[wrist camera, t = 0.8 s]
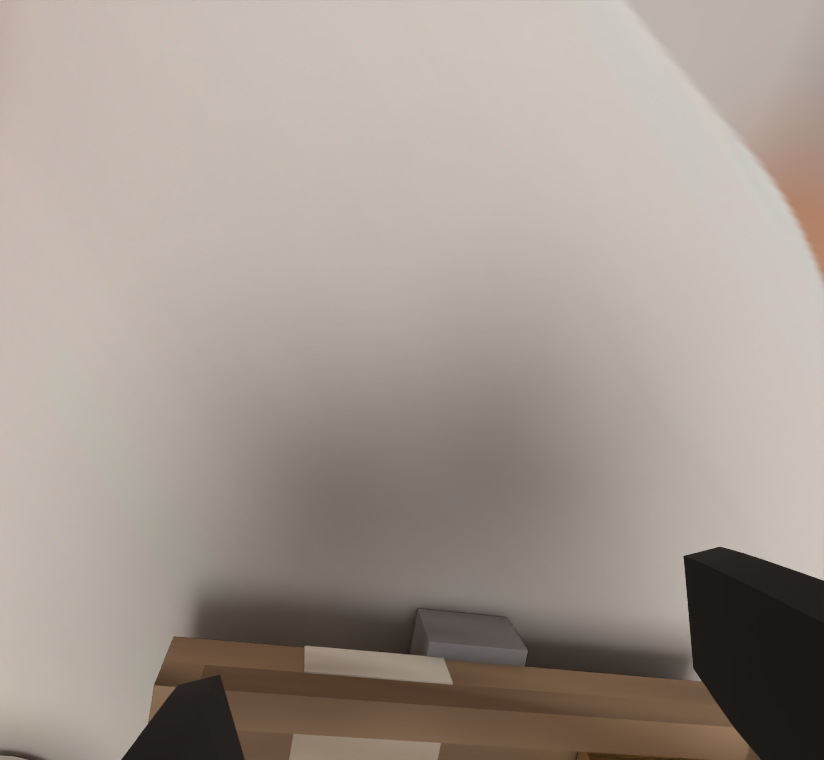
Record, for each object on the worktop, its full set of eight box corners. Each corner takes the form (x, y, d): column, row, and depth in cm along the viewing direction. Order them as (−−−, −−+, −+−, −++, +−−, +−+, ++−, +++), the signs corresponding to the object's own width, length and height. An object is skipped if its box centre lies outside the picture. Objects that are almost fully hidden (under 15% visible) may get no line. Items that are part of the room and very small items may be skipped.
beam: (655, 821, 23) (732, 938, 19) (157, 800, 20) (116, 934, 16) (699, 636, 22) (788, 714, 18) (190, 585, 19) (157, 665, 15)
